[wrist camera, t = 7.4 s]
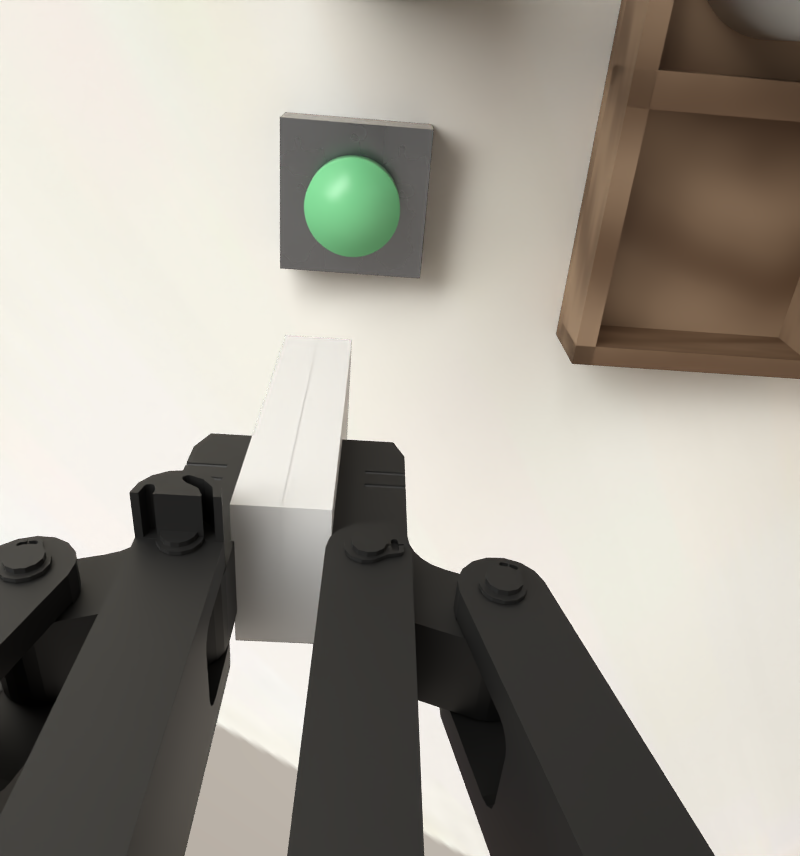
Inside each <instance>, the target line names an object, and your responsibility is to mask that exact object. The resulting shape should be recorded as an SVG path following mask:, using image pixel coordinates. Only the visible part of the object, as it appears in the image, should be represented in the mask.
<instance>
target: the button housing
mask: <svg viewBox="0 0 800 856" xmlns="http://www.w3.org/2000/svg"><path fill="white" fill-rule="evenodd" d="M433 131H434V129H433V127H432V125H431V124H420V123H408V122H396V121H384V120H372V119H360V118H348V117H336V116H324V115H311V114H299V113H287V112H285V113H284V114H283V115H282V116H281V117H280V268H284V269H297V270H311V271H325V272H339V273H353V274H367V275H381V276H395V277H409V278H420V270H421V259H422V249H423V238H424V227H425V217H426V206H427V195H428V185H429V174H430V163H431V153H432V142H433ZM346 155H358V156H363V157H367V158H369V159H372V160H374V161H375V162H377V163H379V164H380V165H381V166H382V167H384V168H385V169H386V171H387V172H388V173H389V174H390V175H391V177H392V178H393V180H394V182H395V184H396V187H397V190H398V194H399V200H400V216H399V222H398V225H397V228H396V230H395V232H394V234H393V236H392V237H391V238H390V240H389V241H388V242H387V243H386V244H385V245H384V246H383V247H382V248H380V249H379V250H377V251H375V252H374V253H371V254H369V255H365V256H361V257H346V256H341V255H338V254H335V253H333V252H331V251H329V250H328V249H326V248H325V247H323V246H322V245H321V244H320V243H319V242H318V241H317V240H316V239H315V237H314V236H313V235H312V233H311V231H310V229H309V227H308V225H307V222H306V219H305V213H304V200H305V195H306V192H307V189H308V186H309V184H310V182H311V180H312V178H313V177H314V175H315V174H316V172H317V171H318V170H319V169H320V168H321V167H322V166H323V165H324V164H326V163H327V162H329V161H330V160H332V159H335V158H337V157H341V156H346Z"/></svg>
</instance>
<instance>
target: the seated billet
mask: <svg viewBox="0 0 800 856" xmlns="http://www.w3.org/2000/svg"><path fill="white" fill-rule="evenodd" d="M708 2H709V4H710V6H711V7H712V9H713V10H714V12H715V14H716V15H717V16H718V17H719V18H720V19H721V20H722V21H723V22H724V23H725V24H726V25H728V26H729V27H730V28H731V29H733V30H735V31H737V32H738V33H740V34H742V35H745V36H748V37H751V38H756V39H762V40H781V41H800V0H708Z"/></svg>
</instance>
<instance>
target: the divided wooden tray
mask: <svg viewBox="0 0 800 856" xmlns="http://www.w3.org/2000/svg"><path fill="white" fill-rule="evenodd" d="M556 335H557V337H558V339H559V340H560V342H561V344H562V346H563V348H564V350H565V351H566V353H567V355H568V357H569V359H570V361H571V363H572V364H584V365H599V366H614V367H629V368H644V369H659V370H674V371H689V372H704V373H719V374H734V375H750V376H765V377H780V378H795V379H800V41H781V40H762V39H756V38H751V37H748V36H745V35H742V34H740V33H738V32H737V31H735V30H733V29H731V28H730V27H729V26H728V25H726V24H725V23H724V22H723V21H722V20H721V19H720V18H719V17H718V16H717V15H716V14H715V12H714V10H713V9H712V7H711V6H710V4H709V2H708V0H622V1H621V6H620V11H619V16H618V21H617V26H616V31H615V36H614V42H613V47H612V52H611V57H610V62H609V67H608V72H607V77H606V82H605V87H604V93H603V98H602V103H601V108H600V113H599V118H598V123H597V128H596V133H595V138H594V144H593V149H592V154H591V159H590V164H589V169H588V174H587V179H586V184H585V190H584V195H583V200H582V205H581V210H580V215H579V220H578V225H577V230H576V235H575V241H574V246H573V251H572V256H571V261H570V266H569V271H568V276H567V281H566V286H565V292H564V297H563V302H562V307H561V312H560V317H559V322H558V327H557V332H556Z"/></svg>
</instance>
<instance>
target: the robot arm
mask: <svg viewBox="0 0 800 856" xmlns="http://www.w3.org/2000/svg"><path fill="white" fill-rule="evenodd" d="M351 345H352V340H350V339H336V338H321V337H306V336H291V335H285V338H284V341H283V344H282V347H281V350H280V353H279V356H278V359H277V362H276V365H275V368H274V371H273V374H272V377H271V380H270V383H269V386H268V389H267V392H266V395H265V398H264V401H263V404H262V407H261V410H260V414H259V417H258V420H257V423H256V426H255V429H254V432H253V435H252V436H245V435H228V434H212V433H211V434H210V435H209V436H207V437H206V438H205V439H203V440H202V441H201V442H199V443H198V444H197V445H195V446H194V448H193V450H192V452H191V454H190V456H189V459H188V461H187V465H185V467H184V470H182V471H168V472H164V473H160V474H156V475H152V476H150V477H148V478H146V479H145V480H143V481H141V482H139V483H138V484H137V485H136V486H135V487H134V488H133V489H132V490H131V491H130V500H131V508H132V516H133V524H134V532H135V539H134V541H133V543H132V545H131V547H130V548H127V549H125V550H122V551H119V552H115V553H110V554H106V555H100V556H93V557H87V558H81V559H77V557H76V552H75V550H74V549H73V548H72V547H71V546H70V544H69V543H67V542H65V541H63V540H60V539H58V538H55V537H42V536H35V537H29V538H22V539H17V540H14V541H12V542H9V543H6V544H3V545H1V546H0V856H184V855H185V851H186V847H187V843H188V838H189V834H190V830H191V826H192V822H193V818H194V814H195V809H196V805H197V801H198V797H199V793H200V789H201V784H202V780H203V776H204V772H205V768H206V764H207V760H208V756H209V752H210V747H211V743H212V739H213V735H214V731H215V727H216V723H217V718H218V714H219V710H220V706H221V702H222V698H223V694H224V689H225V685H226V681H227V677H228V673H229V669H230V645H229V641H230V637H231V633H232V629H233V626H234V622H235V635H236V640H244V641H266V642H288V643H310V644H313V652H312V660H311V668H310V676H309V684H308V692H307V700H306V708H305V716H304V725H303V733H302V741H301V749H300V757H299V765H298V773H297V782H296V790H295V797H294V806H293V813H292V822H291V830H290V838H289V846H288V854H287V856H424V842H423V816H422V792H421V767H420V742H419V718H418V700H419V701H422V702H425V703H428V704H431V705H434V706H437V707H440V715H441V719H442V722H443V724H444V727H445V730H446V733H447V736H448V738H449V741H450V744H451V747H452V750H453V752H454V755H455V758H456V761H457V764H458V766H459V769H460V772H461V775H462V777H463V780H464V783H465V786H466V789H467V791H468V794H469V797H470V800H471V803H472V805H473V808H474V811H475V814H476V816H477V819H478V822H479V825H480V828H481V830H482V833H483V836H484V839H485V842H486V844H487V847H488V850H489V853H490V856H715V855H714V853H713V852H712V850H711V849H710V847H709V845H708V844H707V842H706V841H705V839H704V837H703V836H702V834H701V833H700V831H699V829H698V828H697V826H696V825H695V823H694V821H693V820H692V818H691V817H690V815H689V813H688V812H687V810H686V808H685V807H684V805H683V804H682V802H681V800H680V799H679V797H678V796H677V794H676V792H675V791H674V789H673V788H672V786H671V784H670V783H669V781H668V780H667V778H666V776H665V775H664V773H663V772H662V770H661V768H660V767H659V765H658V763H657V762H656V760H655V759H654V757H653V755H652V754H651V752H650V751H649V749H648V747H647V746H646V744H645V743H644V741H643V739H642V738H641V736H640V735H639V733H638V731H637V730H636V728H635V727H634V725H633V723H632V722H631V720H630V718H629V717H628V715H627V714H626V712H625V710H624V709H623V707H622V706H621V704H620V702H619V701H618V699H617V698H616V696H615V694H614V693H613V691H612V690H611V688H610V686H609V685H608V683H607V682H606V680H605V678H604V677H603V675H602V674H601V672H600V670H599V669H598V667H597V665H596V664H595V662H594V661H593V659H592V657H591V656H590V654H589V653H588V651H587V649H586V648H585V646H584V645H583V643H582V641H581V640H580V638H579V637H578V635H577V633H576V632H575V630H574V629H573V627H572V625H571V624H570V622H569V620H568V619H567V617H566V616H565V614H564V612H563V611H562V609H561V608H560V606H559V604H558V603H557V601H556V600H555V598H554V596H553V595H552V593H551V592H550V590H549V588H548V587H547V585H546V584H545V582H544V581H543V580H542V579H541V578H540V576H539V575H538V574H537V573H536V572H535V571H534V570H532V569H530V568H528V567H527V566H525V565H523V564H521V563H519V562H516V561H512V560H508V559H505V558H484V559H480V560H477V561H473V562H471V563H470V564H469V565H467V566H466V567H465V568H463V569H462V571H461V573H460V574H458V573H455V572H451V571H448V570H444V569H442V568H439V567H436V566H434V565H431V564H430V563H428V562H426V561H425V560H423V559H422V558H420V557H419V556H418V555H417V554H416V553H415V552H414V551H413V549H412V548H411V546H410V544H409V541H408V537H407V516H406V489H405V462H404V456H403V455H402V453H401V452H400V451H399V449H398V448H397V447H396V446H395V444H394V443H393V442H376V441H359V440H347V427H348V406H349V386H350V365H351Z"/></svg>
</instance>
